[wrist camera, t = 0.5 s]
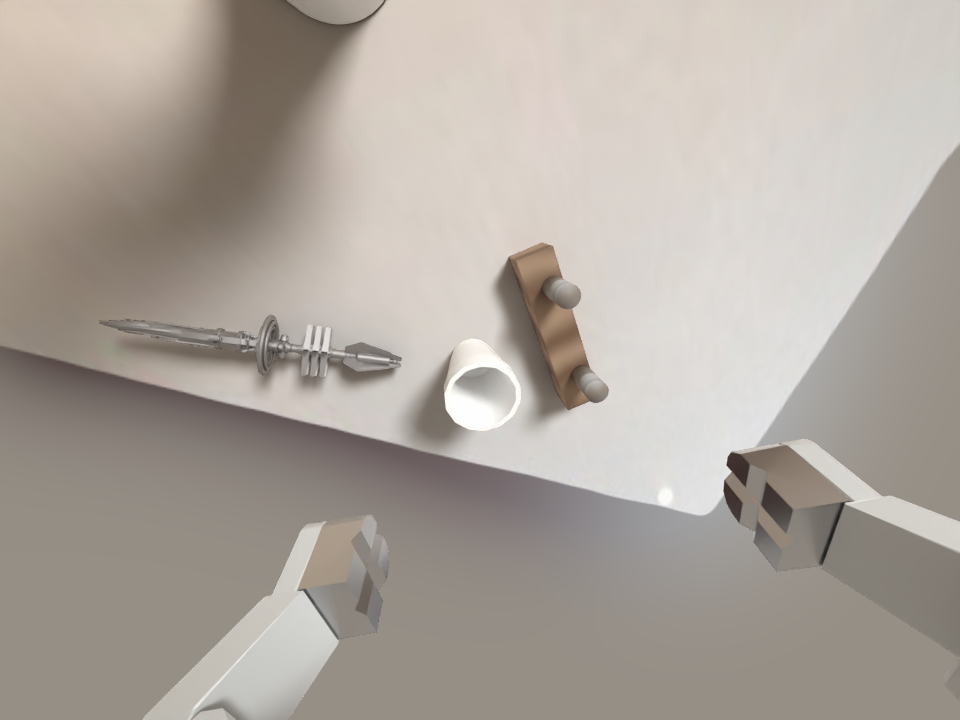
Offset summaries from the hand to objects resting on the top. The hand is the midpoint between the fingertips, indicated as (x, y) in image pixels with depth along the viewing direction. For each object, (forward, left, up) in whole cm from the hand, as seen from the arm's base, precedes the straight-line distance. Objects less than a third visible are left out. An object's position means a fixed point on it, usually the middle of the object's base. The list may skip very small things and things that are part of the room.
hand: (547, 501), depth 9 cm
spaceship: (+1, -27, -47) cm, 54 cm away
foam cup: (+15, -3, -47) cm, 50 cm away
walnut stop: (+15, +10, -47) cm, 50 cm away
